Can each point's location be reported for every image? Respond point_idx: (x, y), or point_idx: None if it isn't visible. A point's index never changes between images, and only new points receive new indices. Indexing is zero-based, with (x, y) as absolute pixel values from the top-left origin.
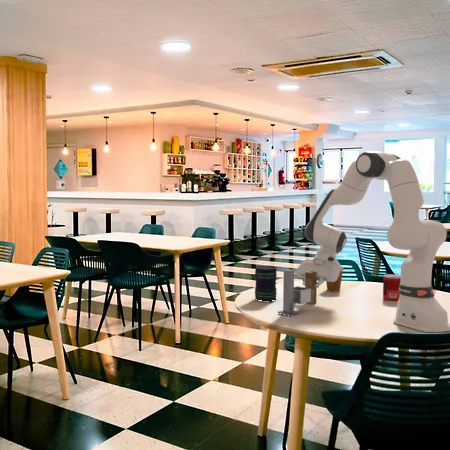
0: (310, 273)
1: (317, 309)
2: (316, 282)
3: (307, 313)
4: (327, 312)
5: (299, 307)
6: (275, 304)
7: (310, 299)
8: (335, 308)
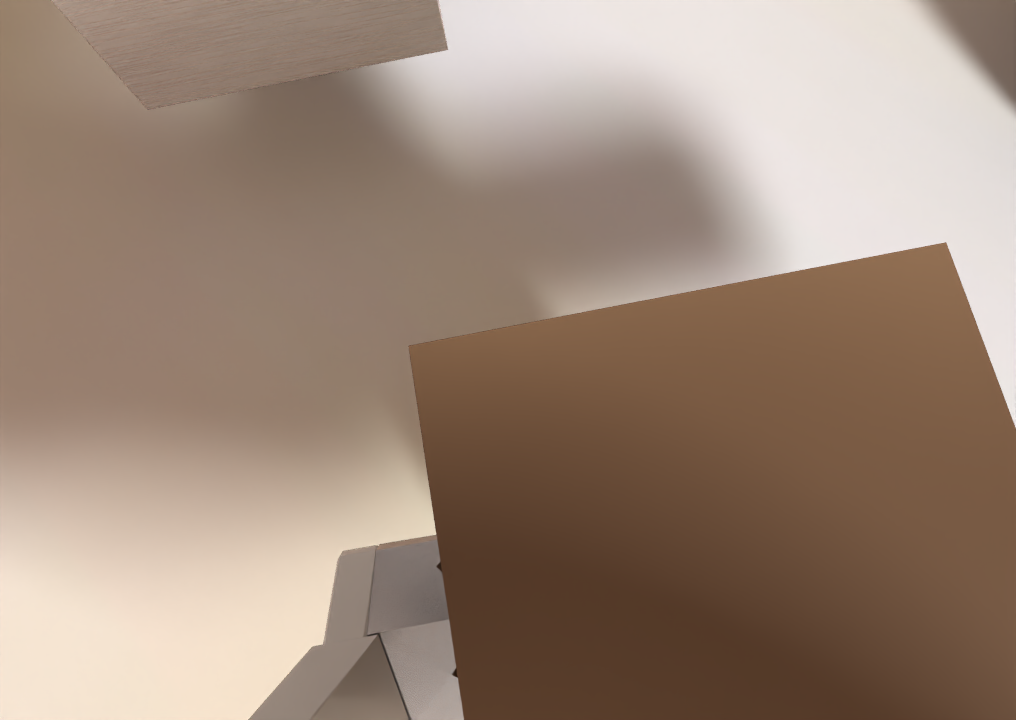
0: (532, 332)
1: (220, 347)
2: (403, 622)
3: None
4: (2, 339)
5: (486, 209)
6: (852, 41)
7: (124, 77)
8: (59, 654)
